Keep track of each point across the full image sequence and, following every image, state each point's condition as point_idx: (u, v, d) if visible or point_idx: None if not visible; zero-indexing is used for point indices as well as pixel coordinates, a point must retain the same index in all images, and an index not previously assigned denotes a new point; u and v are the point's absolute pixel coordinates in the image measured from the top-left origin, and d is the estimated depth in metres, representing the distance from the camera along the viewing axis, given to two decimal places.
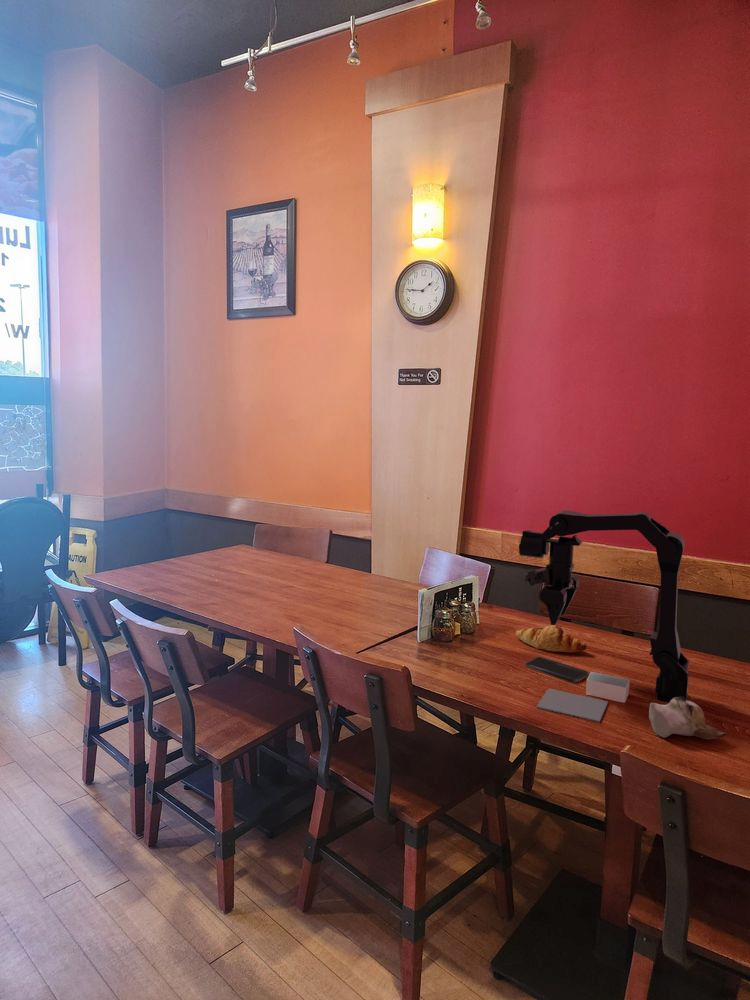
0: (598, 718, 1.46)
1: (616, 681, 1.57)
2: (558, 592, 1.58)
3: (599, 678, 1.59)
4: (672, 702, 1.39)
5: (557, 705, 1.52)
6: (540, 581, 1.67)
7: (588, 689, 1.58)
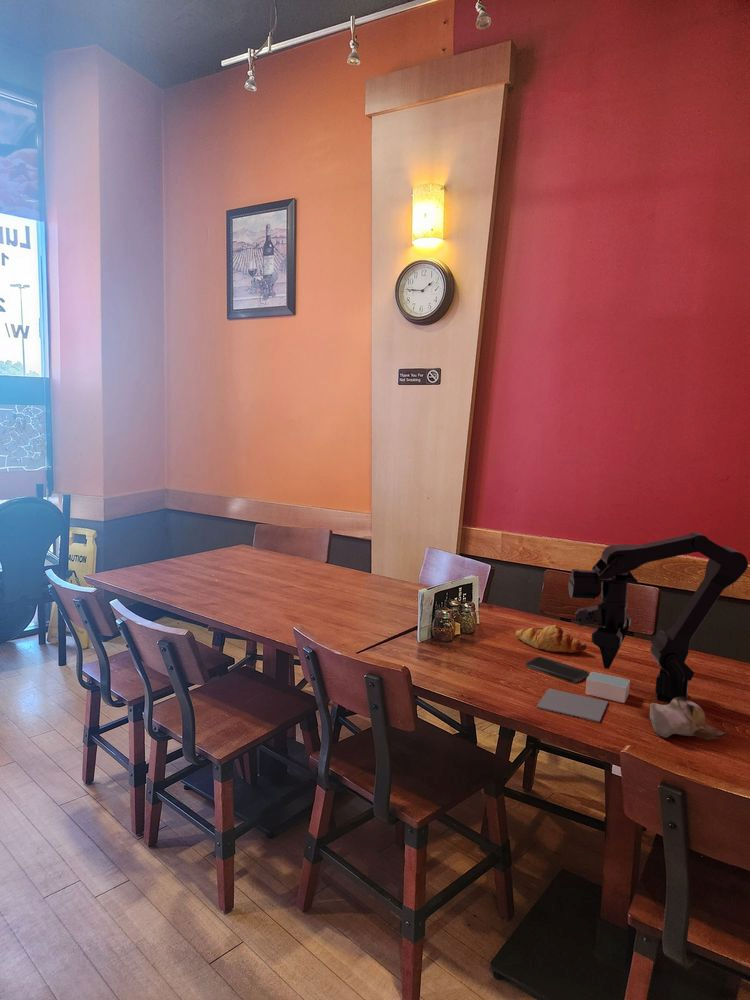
0: (598, 718, 1.46)
1: (616, 681, 1.57)
2: (614, 635, 1.47)
3: (599, 678, 1.59)
4: (673, 702, 1.39)
5: (557, 705, 1.52)
6: (591, 621, 1.56)
7: (588, 688, 1.58)
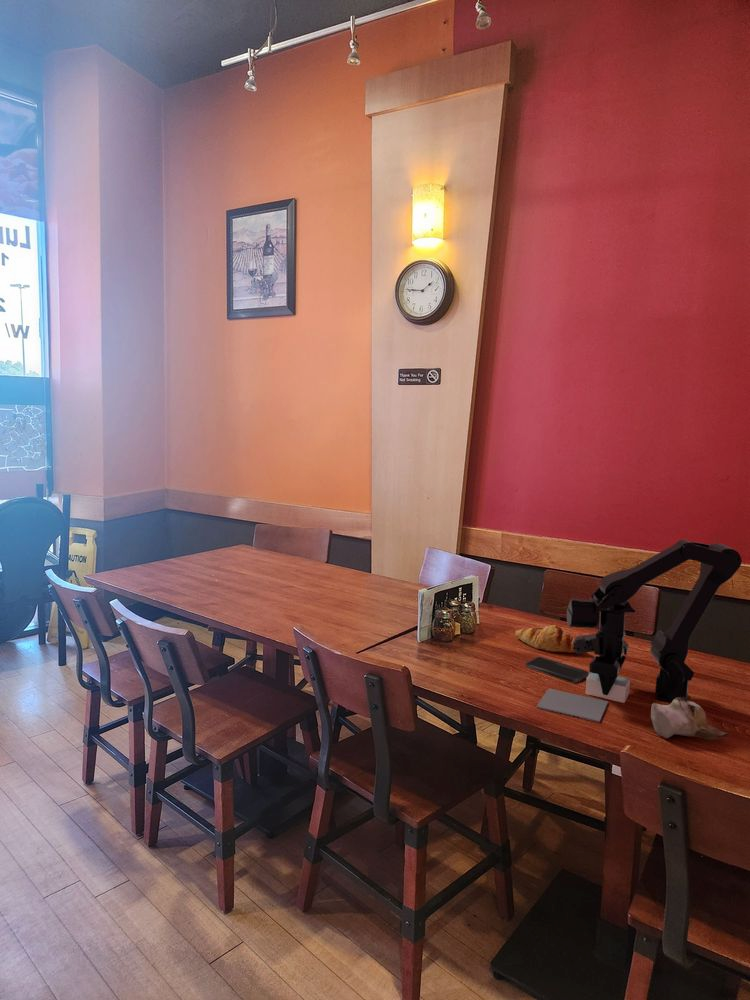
0: (598, 718, 1.46)
1: (616, 680, 1.57)
2: (611, 665, 1.49)
3: None
4: (674, 703, 1.39)
5: (557, 705, 1.52)
6: (589, 650, 1.57)
7: (588, 687, 1.58)
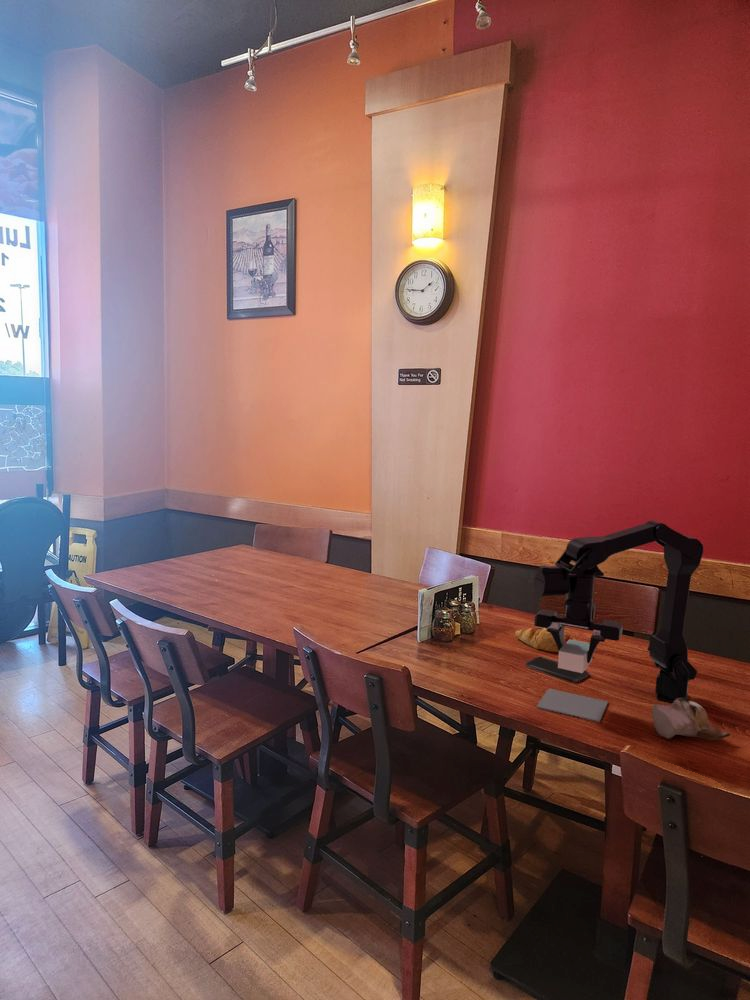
0: (598, 718, 1.46)
1: (573, 649, 1.49)
2: (536, 614, 1.52)
3: (575, 644, 1.53)
4: (676, 703, 1.38)
5: (557, 705, 1.52)
6: None
7: None
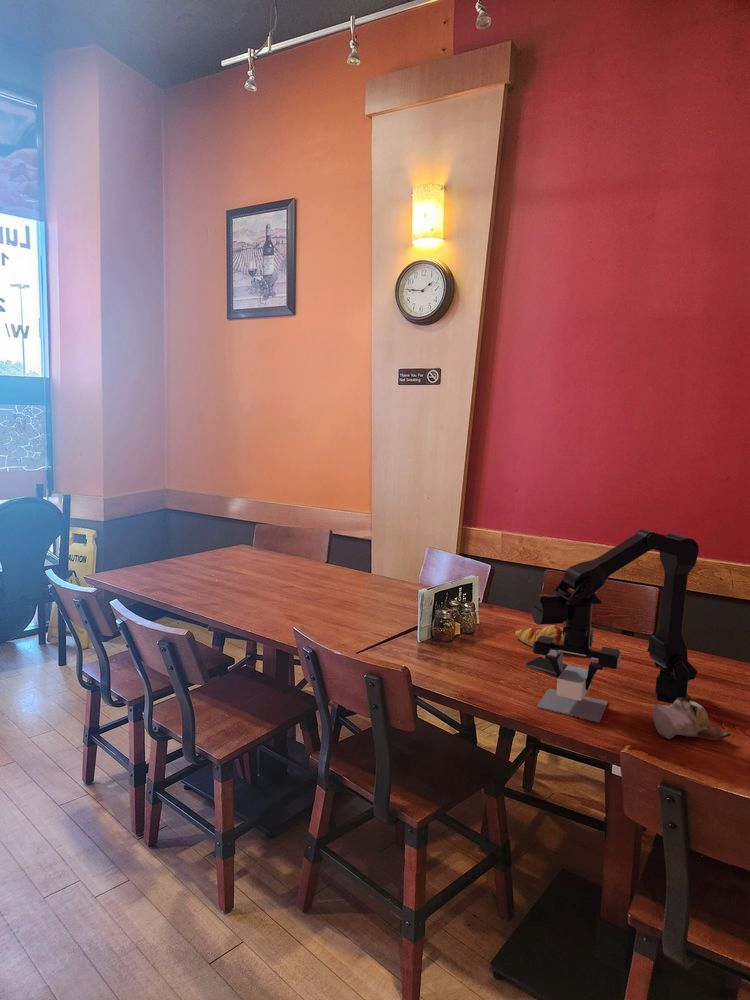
0: (598, 718, 1.46)
1: (571, 677, 1.50)
2: (535, 641, 1.53)
3: (574, 670, 1.53)
4: (676, 703, 1.38)
5: (557, 705, 1.52)
6: None
7: None
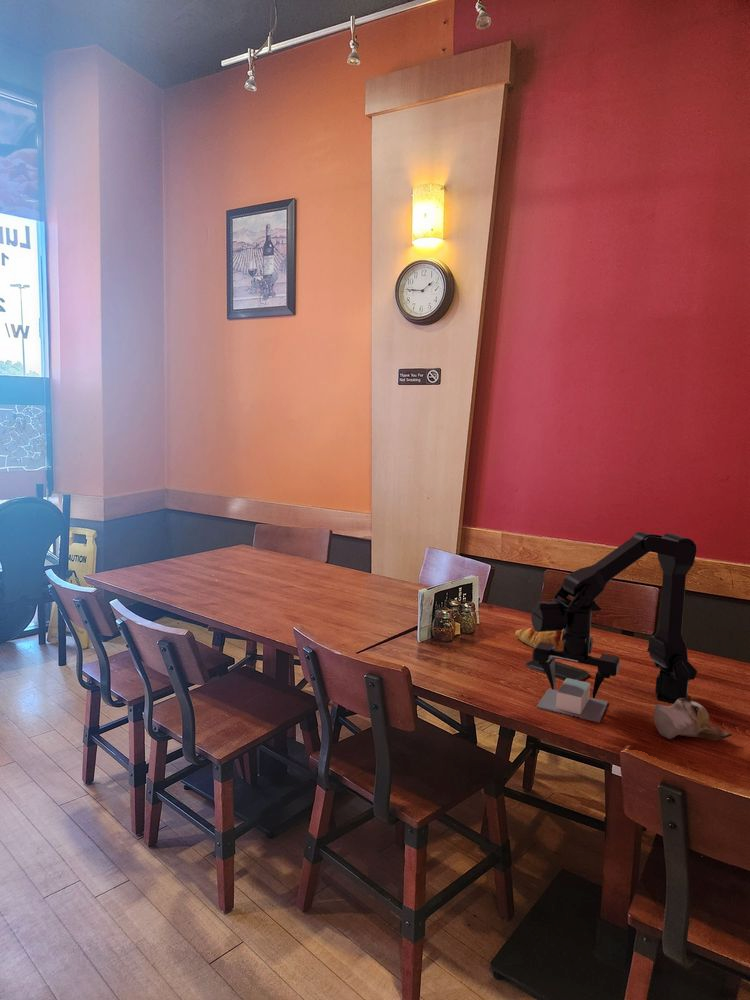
0: (598, 718, 1.46)
1: (570, 690, 1.50)
2: (534, 648, 1.53)
3: (573, 683, 1.54)
4: (677, 703, 1.38)
5: None
6: None
7: None
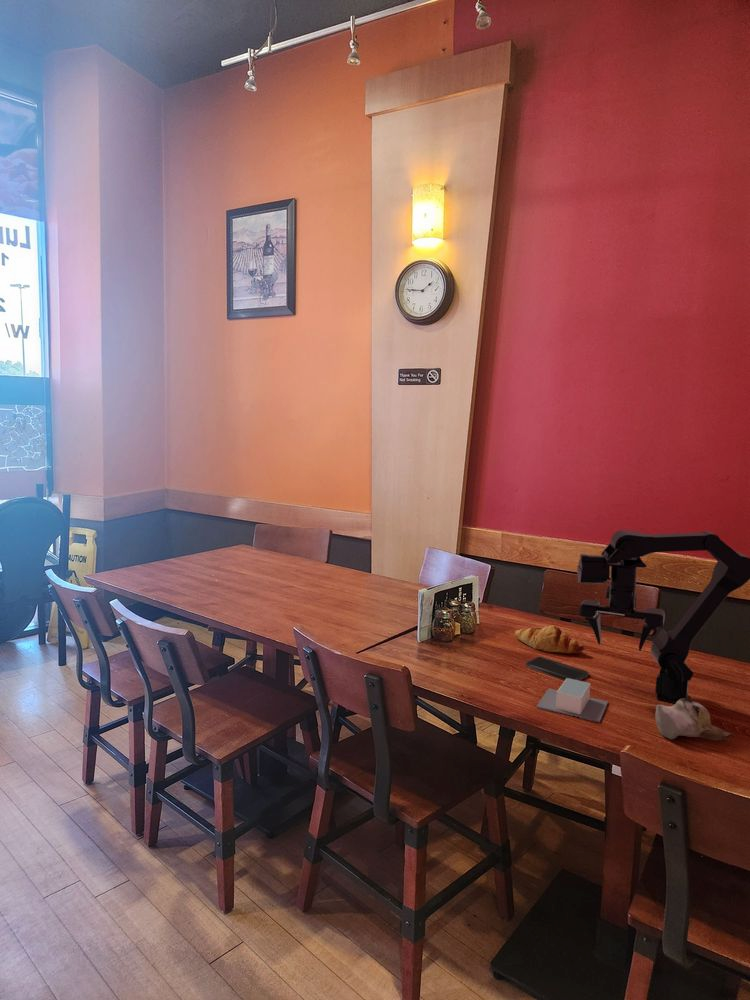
0: (598, 718, 1.46)
1: (570, 690, 1.50)
2: (581, 604, 1.59)
3: (573, 683, 1.54)
4: (679, 704, 1.38)
5: None
6: None
7: None
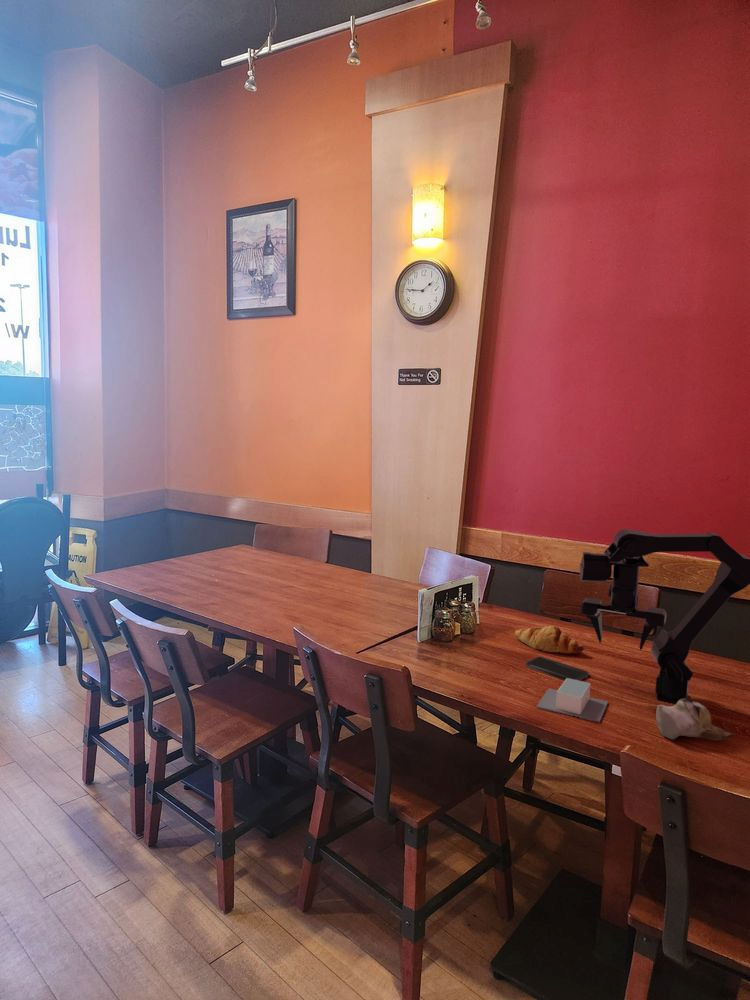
0: (598, 718, 1.46)
1: (570, 690, 1.50)
2: (582, 602, 1.59)
3: (573, 683, 1.54)
4: (679, 704, 1.38)
5: None
6: None
7: None
